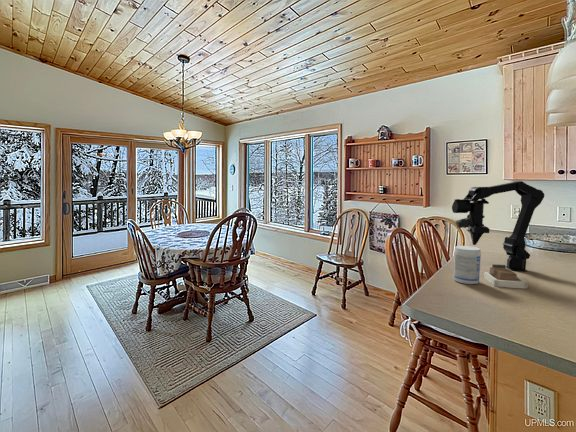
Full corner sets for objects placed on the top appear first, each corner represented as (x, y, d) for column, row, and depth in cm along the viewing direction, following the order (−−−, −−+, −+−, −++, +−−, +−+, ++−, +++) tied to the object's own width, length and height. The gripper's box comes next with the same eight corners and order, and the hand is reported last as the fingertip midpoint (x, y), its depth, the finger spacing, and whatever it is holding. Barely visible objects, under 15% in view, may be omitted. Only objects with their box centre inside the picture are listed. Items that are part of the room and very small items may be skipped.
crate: (489, 278, 132) (490, 263, 131) (504, 279, 130) (505, 264, 130) (499, 285, 123) (500, 269, 122) (515, 286, 122) (517, 270, 121)
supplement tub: (482, 286, 121) (484, 250, 120) (456, 283, 124) (458, 249, 123) (475, 278, 131) (477, 246, 129) (451, 277, 133) (452, 244, 132)
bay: (483, 277, 133) (484, 271, 132) (513, 279, 129) (513, 273, 129) (494, 286, 121) (495, 280, 121) (527, 288, 118) (528, 282, 118)
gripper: (452, 211, 154) (451, 240, 156) (463, 214, 136) (461, 247, 138) (476, 211, 151) (475, 241, 153) (490, 215, 133) (488, 249, 135)
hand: (474, 244), depth 145 cm, fingers closed
